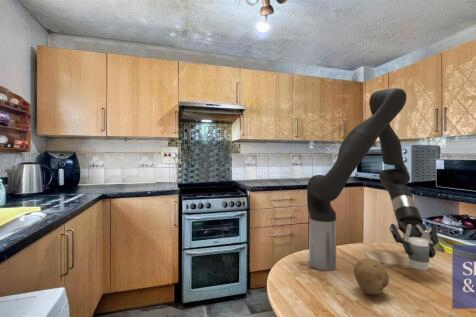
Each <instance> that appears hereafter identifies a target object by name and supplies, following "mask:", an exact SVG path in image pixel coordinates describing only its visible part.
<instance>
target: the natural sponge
mask: <svg viewBox="0 0 476 317" xmlns="http://www.w3.org/2000/svg"><path fill="white" fill-rule="evenodd" d="M353 274H354V278H355V281H356V282H357V284H358V286H359V288H360V289H362V290H363V292H364V293H366V294H368V295H369V296H372V295H373V296H374V295H379V294H381V293H382V292H383V290H384V289H385V288H386V287H388V285H389V281H390V279H389V278H390V276H389V273H388V272H387V269H386V268H385V267H384V266H382V265H381V264H380V263H379V262H377V261H376V260H374V259H370V258H367V257H366V258H362V259H359V260H358V261H357V262H355V264H354V267H353Z"/></svg>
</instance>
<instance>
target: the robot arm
mask: <svg viewBox="0 0 476 317" xmlns="http://www.w3.org/2000/svg"><path fill="white" fill-rule="evenodd" d="M406 102H407V93H406V91H405V90H404V89H403V88H399V87H398V88H397V87H393V88H387V89H381V90H380V89H379V90H375V91H374V92H373V93H372V94H371V95H370V97H369V103H368V104H369V109H370V113H371V116H370V117H368V118H367V119H365V120H364V121H362V122H360V123H359V124H358V125H356V126H355V127H353V129H351V130H350V131H349V132H348V134H347V136H346V137H345V138H344V139H343V141H342V142H341V144H340V146H339V150H338V154H337V158H336V161H335V163H334V164H333V165H332V167H331V168H330V169H329V171H328V172H326V174H325V175H324V174H316V175H315V174H314V175H313V176H311V177H310V178H309V180H308V182H307V185H306V200H307V210H308V214H309V235H308V250H309V251H308V262H309V267H310V268H312V269H313V268H314V269H316V270H320V271H325V272H326V271H327V272H328V271H329V272H330V271H333V270H335V269H336V268H337V213H336V211H335V210H334V208H333V206H332V204H331V202H333V201H335V200H336V199H337V198H338V197H340V195H341V193H342V191H343V190H344V188H345V187H346V184H347V182H348V180H349V179H350V178H351V176H352V174H353V172H354V171H355V170H356V169H357V167H358V165H359V164H360V163H361V162H362V160H363V159H364V158H365V157H366V156H367V154H368V152H369V151H370V149H371V148H372V147H373V145H374V144H375V142H376V141H377V140H379V144H380V152H381V159H382V161H381V162H382V163H383V164H384V165H388V166H395V168H387V169H382V170H381V171H380V172H379V174H378V177H379V178H378V179H379V181H380V183H381V185H382V186H383V187H384V188H385V190H386V191H387V192H388V194H389V196H390V200H391V203H392V204H391V205H392V210H393V212H394V217H395V219H396V223H397V224H395V223H391V224H390V225H389V227H388V228H389V230H390V233H391V235H392V237H393V239H394V240H395V243H397V244H402V246H403V250H404V252H405V253H404V254H406V255H408V256H411V255H412V254H413V253H412V249H411V246H410V244H409V241H410V237H420V238H424V239H427V240H428V241H429V243H428V245H430V252H429V259H430V258H431V259H433V258H434V257H435V256H436V255H437V253H436V250H435V247H436V245H437V244H438V243H439V238H438V233H437V228H436V227H435V226H432V227H430V226H429V227H428V226H426V224H424V222H423V219H422V216H421V213H420V210H419V209H418V205H417V204H416V201H415V200H414V197H413V195H412V192H411V189H410V188H409V187H408V186H407V185H408V184H409V183H410V180H411V176H410V172H409V171H408V168H407V167H406V165H405V162H404V157H403V149H402V144H401V141H400V138H399V136H398V135H397V133H396V132H395V131H394V129H393V127H392V126H391V124H390V123H391V122H392V121H394V119H395V118H396V117H397V116H398V115H399V114H400V113H401V111H402V110H403V109H404V107H405V105H406ZM378 138H379V139H378ZM399 230H400V231H399ZM400 232H402V233H403V236H401V234H400Z"/></svg>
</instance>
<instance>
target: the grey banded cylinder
mask: <svg viewBox="0 0 476 317" xmlns="http://www.w3.org/2000/svg"><path fill="white" fill-rule="evenodd" d="M408 242H409V244H410V246H411V249H412V253H413V254H412V255H411V256H408V258H409V265H410V266H411V267H413V268H415V270H420V271H428V270H427V269H428V263H430V257H429V252H430V245H428V243H429V241H428V240H427V239H424V238H420V237H409V240H408ZM413 268H412V269H413Z"/></svg>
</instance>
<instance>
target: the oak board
mask: <svg viewBox="0 0 476 317" xmlns="http://www.w3.org/2000/svg"><path fill="white" fill-rule="evenodd" d="M363 253H364V255H365V257H366V258H370V259H374V260H376V261H377V262H379V263H380V264H381V265H382V266H383V267H384V266H385V267H393V268H404V269H412V270H413V269H415V268H413V267H411V266H410V265H409V258H408V254H406V253H392V252H391V253H390V252H380V251H371V250H370V251H368V250H364V251H363ZM435 269H436V268H435V267H434V265H432V264H431V263H430V262H428V269H427V270H426V271H435ZM415 270H416V269H415Z"/></svg>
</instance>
